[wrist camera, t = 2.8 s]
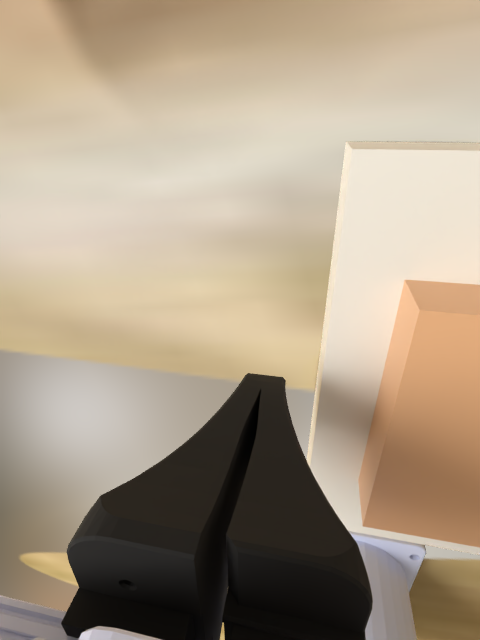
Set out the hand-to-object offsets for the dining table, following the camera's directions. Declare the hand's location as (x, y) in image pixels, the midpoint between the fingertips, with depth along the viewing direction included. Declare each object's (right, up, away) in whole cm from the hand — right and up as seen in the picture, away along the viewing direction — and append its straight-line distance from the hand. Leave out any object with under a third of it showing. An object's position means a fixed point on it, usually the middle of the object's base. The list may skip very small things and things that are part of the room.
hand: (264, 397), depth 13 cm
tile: (+7, 0, 0) cm, 7 cm away
